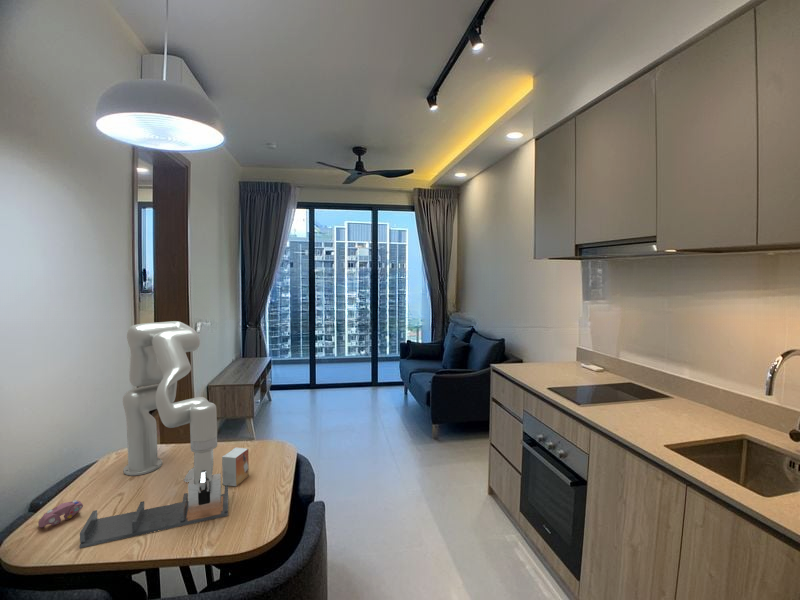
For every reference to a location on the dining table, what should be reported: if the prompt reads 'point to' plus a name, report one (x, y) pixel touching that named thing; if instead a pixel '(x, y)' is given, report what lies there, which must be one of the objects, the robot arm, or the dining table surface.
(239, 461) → the small box
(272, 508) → the dining table surface
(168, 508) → the slot rack
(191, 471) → the car cutout
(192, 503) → the panel
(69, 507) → the video game controller
